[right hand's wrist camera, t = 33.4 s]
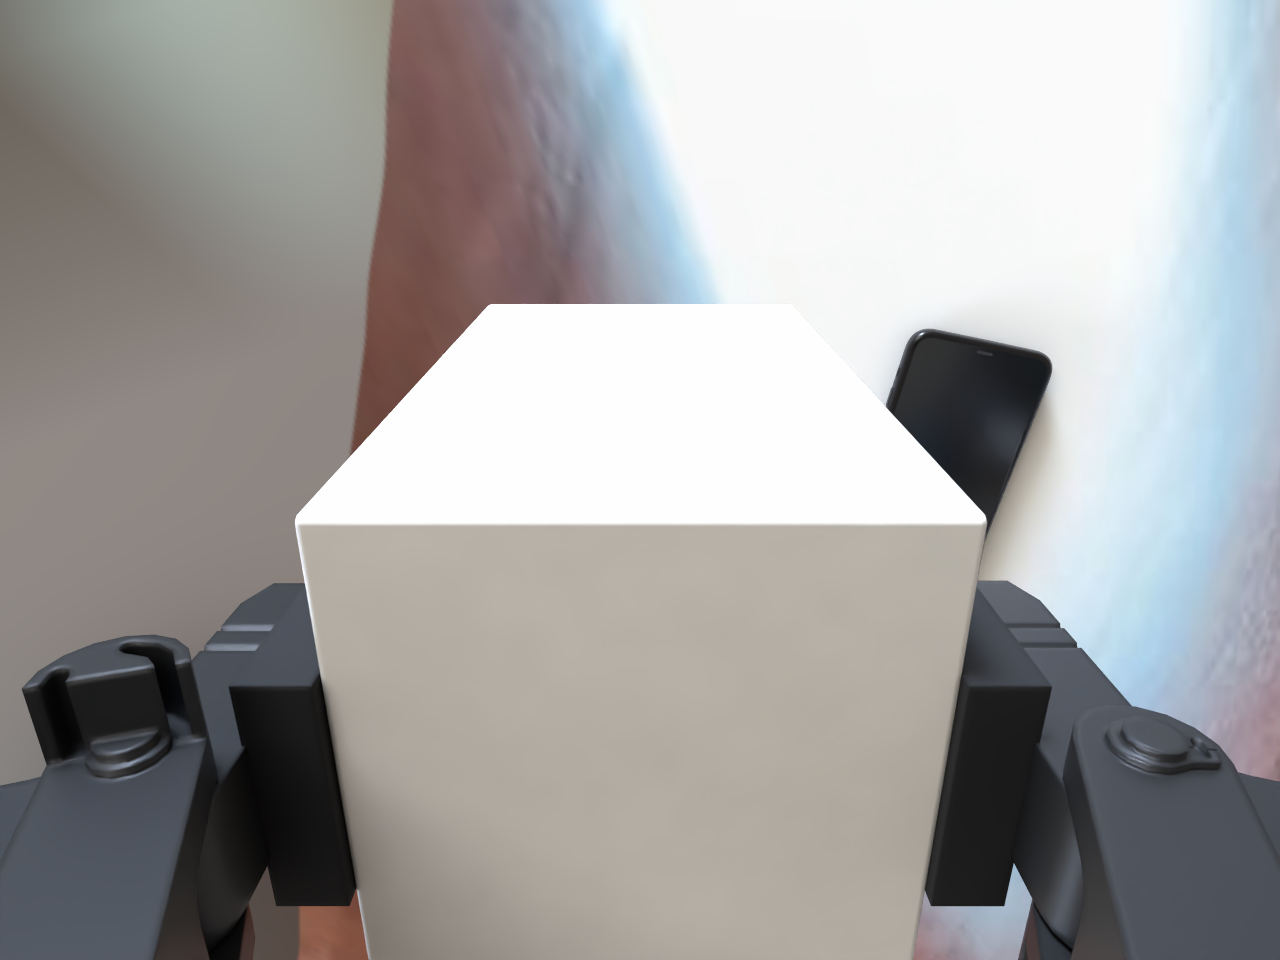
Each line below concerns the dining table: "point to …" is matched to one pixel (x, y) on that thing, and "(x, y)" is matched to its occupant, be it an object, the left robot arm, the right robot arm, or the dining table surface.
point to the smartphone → (969, 407)
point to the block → (640, 644)
